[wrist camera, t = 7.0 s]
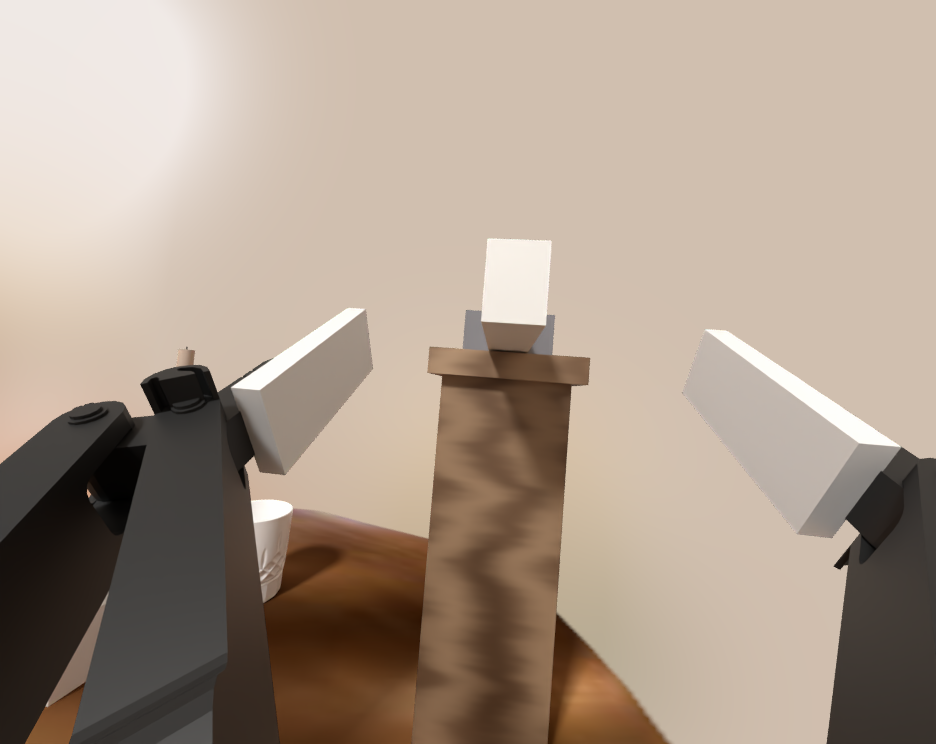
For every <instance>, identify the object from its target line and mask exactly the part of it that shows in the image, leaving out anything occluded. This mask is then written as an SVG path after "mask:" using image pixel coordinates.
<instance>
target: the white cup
mask: <svg viewBox="0 0 936 744" xmlns="http://www.w3.org/2000/svg"><path fill="white" fill-rule="evenodd" d="M251 505H252V514H253V522H254V531H255V539H256V548H257V556H258V564H259V573H260V581H261V590H262V598H263V603H264V602H266V601H268V600H269V599H271V598H272V597H274V596H275V595H276V593H277V592H278V590H279V589H280V586H281V579H282V572H283V567H284V563H285V558H286V551H287V547H288V541H289V534H290V527H291V520H292V514H293V506H292V505H291V504H290V503H288V502H285V501H280V500H254V501H251Z"/></svg>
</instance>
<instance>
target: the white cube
mask: <svg viewBox="0 0 936 744" xmlns="http://www.w3.org/2000/svg"><path fill="white" fill-rule="evenodd" d="M108 593H109V592H108ZM107 597H108V594H107V596H106V597H105V599H104V601H103V603H102V605H101V606H100V608H99V610H98V612H97V614H96V615H95V617H94V619H93V621H92V623H91V624H90V626H89V628H88V630H87V632H86V634H85V635H84V637H83V639H82V641H81V643H80V644H79V646H78V648H77V650H76V652H75V653H74V655H73V657H72V659H71V661H70V662H69V664H68V666H67V668H66V670H65V672H64V673H63V675H62V677H61V679H60V681H59V682H58V684H57V686H56V688H55V690H54V691H53V693H52V695H51V697H50V699H49V700H48V702H47V704H46V706H47V707H49V706H50V705H52V704H53V703H55V702H56V701H58V700H59V699H61V698H62V697H64V696H65V695H66V694H68V693H69V692H71V691H72V690H74V689H75V688H77V687H78V686H80V685H81V684H83V683H84V682H86V679H87V675H88V671H89V667H90V663H91V659H92V655H93V652H94V648H95V644H96V640H97V636H98V632H99V628H100V624H101V620H102V617H103V613H104V609H105V605H106V601H107Z"/></svg>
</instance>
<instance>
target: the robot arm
mask: <svg viewBox="0 0 936 744" xmlns="http://www.w3.org/2000/svg"><path fill="white" fill-rule="evenodd" d="M366 316H367V315H366V309H357V308H347V309H346V310H344V311H343V312H341V313H340V314H338V315H337V316H335V317H334V318H332V319H331V320H330V321H328V322H327V323H325V324H324V325H322V326H321V327H319V328H318V329H316V330H315V331H313V332H312V333H311V334H309V335H307V336H306V337H304V338H303V339H302V340H300V341H299V342H297V343H296V344H294V345H293V346H291V347H290V348H288V349H287V350H285V351H284V352H282V353H281V354H279V355H278V356H277V357H275V358H273V359H270V360H267V361H265V362H263V363H261V364H260V365H258V366H257V367H255V368H254V369H253V371H249V372H248V373H246V374H245V375H244V376H243V377H241V378H239V379H237V380H236V381H234V382H233V383H232V384H230V385H228V386H227V387H226V388H224V389H222V390H221V391H219V392H217V390H216V387H215V384H214V381H213V379H212V376H211V373H210V371H209V369H208V368H207V367H205V366H202V365H186V366H178V367H174V368H170V369H166V370H163V371H160V372H158V373H155V374H153V375H151V376H149V377H148V378H146V379H144V381H143V382H142V383H141V384H140V385H141V387H142V389H143V391H144V393H145V395H146V397H147V399H148V401H149V403H150V405H151V408H152V410H153V412H154V414H155V415H154V416H145V417H134V418H131V416H130V414H129V412H128V410H127V409H126V406H125V405H124V404H123V403H121V402H117V401H108V402H100V403H89V404H85V405H84V406H79V407H76V408H74V409H73V410H72V411H69V412H67V413H65V414H62V415H61V416H59V417H58V418H56V419H54V420H53V421H51V423H49V424H48V425H47V426H45V427H44V428H43V429H42V430H41V431H39V432H38V433H37V434H36V435H35V436H33V437H32V438H31V439H30V440H29V441H28V442H26V443H25V444H24V445H23V446H21V447H20V448H19V449H18V450H17V451H16V452H14V453H13V454H12V455H11V456H9V457H8V458H7V459H6V460H5V461H3V462H2V463H1V464H0V744H25V742H26V740H27V738H28V737H29V735H30V733H31V731H32V729H33V728H34V726H35V724H36V722H37V720H38V719H39V717H40V715H41V713H42V711H43V709H44V708H45V706H46V704H47V702H48V700H49V699H50V697H51V695H52V693H53V691H54V690H55V688H56V686H57V684H58V682H59V681H60V679H61V677H62V675H63V673H64V672H65V670H66V668H67V666H68V664H69V662H70V661H71V659H72V657H73V655H74V653H75V652H76V650H77V648H78V646H79V644H80V643H81V641H82V639H83V637H84V635H85V634H86V632H87V630H88V628H89V626H90V624H91V623H92V621H93V619H94V617H95V615H96V614H97V612H98V610H99V608H100V606H101V605H102V603H103V601H104V599H105V597H106V596H107V594H108V597H107V601H106V605H105V609H104V613H103V617H102V620H101V624H100V628H99V632H98V636H97V640H96V644H95V648H94V652H93V655H92V659H91V663H90V667H89V671H88V675H87V679H86V683H85V687H84V690H83V694H82V698H81V702H80V706H79V710H78V714H77V718H76V721H75V725H74V729H73V733H72V736H71V739H70V742H69V744H280V741H279V733H278V725H277V716H276V708H275V699H274V691H273V682H272V674H271V666H270V657H269V649H268V640H267V632H266V623H265V615H264V607H263V598H262V590H261V581H260V573H259V564H258V556H257V548H256V539H255V531H254V522H253V514H252V505H251V498H250V489H249V481H248V474H247V471H246V469H245V466H244V465H245V464H246V463H247V462H248V461H249V460H250V459H251V458H252V457H253V456H254V457H255V460H256V463H257V465H258V468H259V471H260V472H263V473H272V474H280V475H281V474H282V475H286V474H287V472H288V471H289V470H290V469H291V467H292V466H293V465H294V464H295V463H296V461H297V460H298V459H299V458H300V457H301V455H302V454H303V453H304V452H305V450H306V449H307V448H308V447H309V445H310V444H311V443H312V442H313V441H314V440H315V438H316V437H317V436H318V434H319V433H320V432H321V431H322V430H323V429H324V427H325V426H326V425H327V424H328V423H329V421H330V420H331V419H332V418H333V417H334V415H335V414H336V413H337V412H338V410H339V409H340V408H341V407H342V405H343V404H344V403H345V402H346V401H347V400H348V398H349V397H350V396H351V394H352V393H353V392H354V391H355V390H356V389H357V387H358V386H359V385H360V384H361V383H362V381H363V380H364V379H365V378H366V376H367V375H368V374H369V373H370V372H371V370H372V369H373V365H372V357H371V349H370V341H369V333H368V324H367V317H366ZM682 393H683V395H684V396H685V397H686V398H687V400H688V401H689V402H690V403H691V405H693V407H694V408H695V409H696V411H697V412H698V413H699V414H700V416H701V417H702V418H703V419H704V421H705V422H706V423H707V424H708V425H709V427H710V428H711V429H712V430H713V432H714V433H715V434H716V435H717V436H718V438H719V439H720V440H721V441H722V443H723V444H724V445H725V446H726V448H727V449H728V450H729V451H730V452H731V454H732V455H733V456H734V457H735V459H736V460H737V461H738V462H739V463H740V465H741V466H742V467H743V468H744V470H745V471H746V472H747V473H748V475H749V476H750V477H751V478H752V479H753V481H754V482H755V483H756V484H757V486H758V487H759V488H760V489H761V491H762V492H763V493H764V494H765V495H766V497H767V498H768V499H769V500H770V502H771V503H772V504H773V505H774V507H775V508H776V509H777V510H778V511H779V513H780V514H781V515H782V516H783V518H784V519H785V520H786V521H787V523H788V524H789V525H790V526H791V527H792V528H793V530H794V531H795V532H796V533H797V534H801V535H809V536H819V537H827V538H833V536H834V534H836V532H837V531H838V530H839V528H840V527H841V526H842V524H843V523H844V522H845V520H846V519H847V520H848V521H849V522H850V523H851V524H852V525H853V526H854V527H855V528H856V529H857V530H858V531H859V532H860V534H859V535H858V537H857V538H856V539H855V540H854V541H853V543H852V544H851V545H850V546H849V548H848V549H847V550H846V552H845V553H844V554H843V555H842V556H841V557H840V559H839V560H838V561H837V563H836V564H835V565H834V567H836V568H838V569H841V568H842V567H843V566H844V565H848V572H847V580H846V588H845V596H844V605H843V613H842V621H841V630H840V638H839V646H838V655H837V663H836V671H835V680H834V688H833V696H832V704H831V713H830V721H829V729H828V737H827V744H936V459H934V458H925V459H919V458H917V457H916V456H914V455H913V454H911V453H910V452H908V451H907V450H905V449H904V448H902V447H901V446H899V445H898V444H896V443H895V442H893V441H892V440H890V439H889V438H887V437H886V436H884V435H883V434H881V433H880V432H878V431H877V430H875V429H874V428H872V427H871V426H869V425H868V424H866V423H865V422H863V421H862V420H860V419H859V418H857V417H856V416H854V415H853V414H851V413H850V412H848V411H847V410H845V409H844V408H842V407H841V406H839V405H838V404H836V403H835V402H833V401H832V400H830V399H829V398H827V397H826V396H824V395H823V394H821V393H820V392H818V391H816V390H815V389H814V388H812V387H810V386H809V385H807V384H806V383H805V382H803V381H802V380H800V379H798V378H797V377H796V376H794V375H792V374H791V373H789V372H788V371H787V370H785V369H783V368H782V367H780V366H779V365H777V364H776V363H775V362H773V361H772V360H770V359H769V358H767V357H766V356H764V355H763V354H761V353H760V352H758V351H756V350H755V349H753V348H752V347H751V346H749V345H747V344H746V343H745V342H743V341H741V340H740V339H739V338H737V337H735V336H734V335H732V334H731V333H730V332H728V331H723V330H705V331H704V333H703V336H702V339H701V341H700V344H699V347H698V350H697V353H696V356H695V358H694V361H693V364H692V367H691V370H690V372H689V375H688V378H687V381H686V384H685V386H684V389H683V392H682ZM87 489H88V490H89V492H90V493H91V496H90V497H89V498H88V495H87ZM108 592H109V593H108Z"/></svg>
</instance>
